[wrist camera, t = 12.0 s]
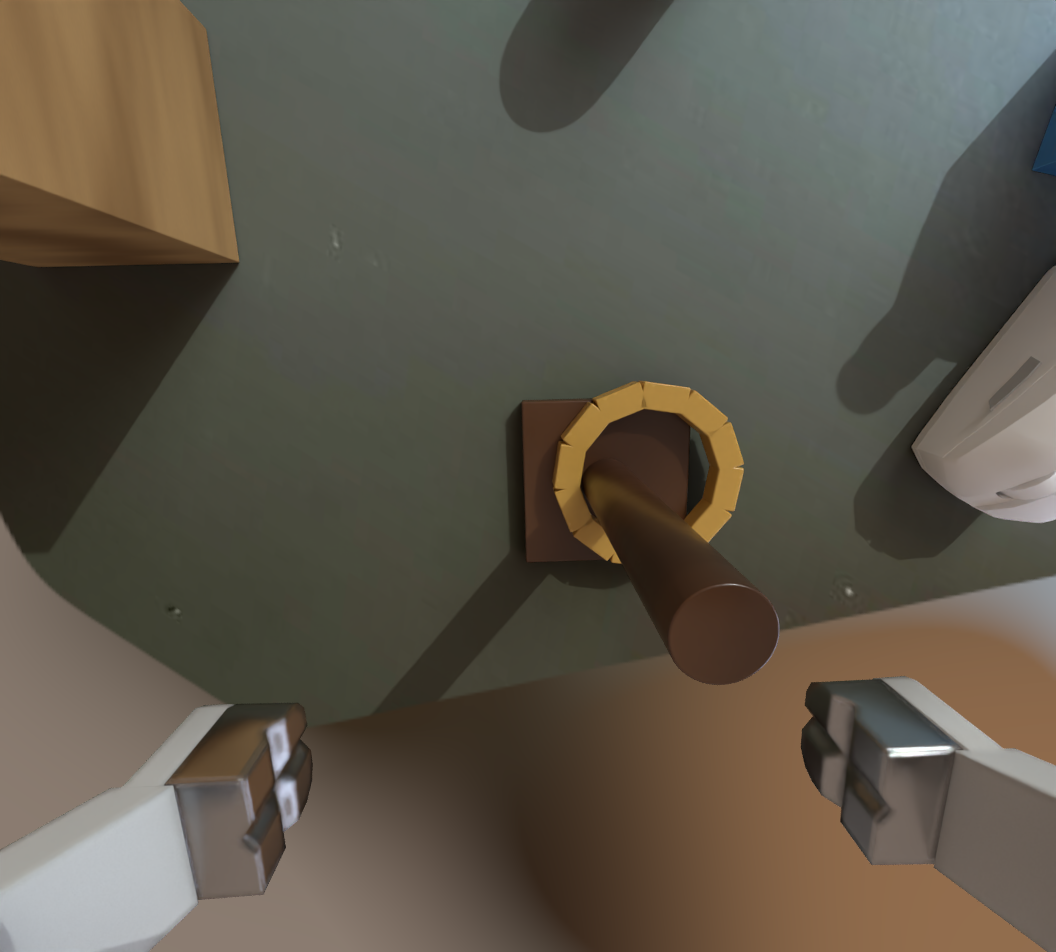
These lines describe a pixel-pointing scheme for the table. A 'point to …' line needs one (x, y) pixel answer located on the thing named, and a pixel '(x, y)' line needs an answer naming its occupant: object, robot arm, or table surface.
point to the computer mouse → (1003, 419)
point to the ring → (626, 402)
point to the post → (649, 537)
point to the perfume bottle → (1047, 150)
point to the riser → (110, 136)
